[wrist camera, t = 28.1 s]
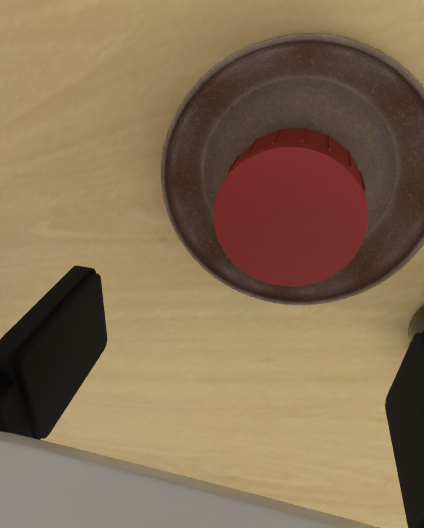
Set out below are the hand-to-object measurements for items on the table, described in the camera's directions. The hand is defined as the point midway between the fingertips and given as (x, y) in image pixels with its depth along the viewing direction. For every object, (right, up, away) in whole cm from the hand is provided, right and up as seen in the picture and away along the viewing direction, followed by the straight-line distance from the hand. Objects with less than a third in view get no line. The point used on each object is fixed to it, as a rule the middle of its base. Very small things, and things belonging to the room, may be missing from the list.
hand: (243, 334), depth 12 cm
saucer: (+4, +7, +11) cm, 14 cm away
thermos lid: (+3, +6, +9) cm, 11 cm away
